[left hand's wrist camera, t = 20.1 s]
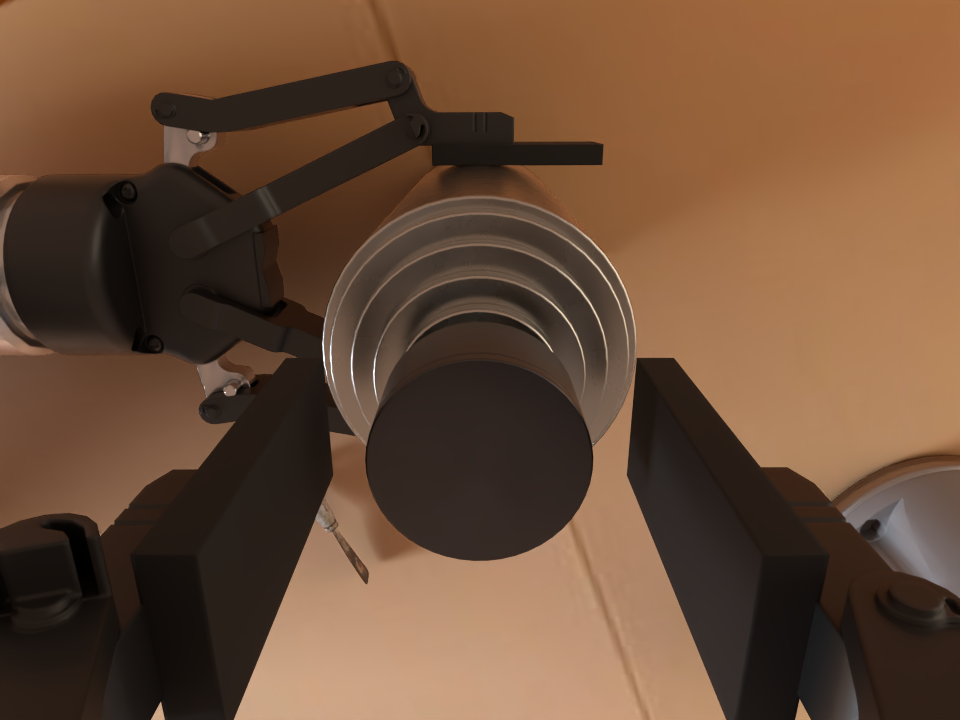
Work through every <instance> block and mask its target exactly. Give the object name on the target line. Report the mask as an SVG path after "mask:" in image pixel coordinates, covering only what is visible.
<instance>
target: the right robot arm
mask: <svg viewBox="0 0 960 720" xmlns="http://www.w3.org/2000/svg"><path fill="white" fill-rule="evenodd" d="M384 101H388V103H389V106H390V108H391V111H392V113H393V116H394V119H395V120H394V121H392V122H390V123H388V124H386V125H384V126H382V127H380V128H378V129H376V130H374V131H372V132H370V133H368V134H366V135H364V136H363V137H361V138H359V139H357V140H355V141H353V142H351V143H349V144H347V145H345V146H343V147H341V148H339V149H337V150H335V151H333V152H331V153H329V154H327V155H325V156H323V157H321V158H319V159H317V160H315V161H313V162H311V163H309V164H307V165H305V166H303V167H301V168H299V169H297V170H295V171H293V172H291V173H289V174H287V175H285V176H283V177H281V178H279V179H277V180H275V181H273V182H271V183H269V184H267V185H265V186H263V187H261V188H258V189H256V190H254V191H252V192H250V193H248V194H246V195H244V196H243V195H241V194H240V193H238V192H237V191H235V190H234V189H232V188H231V187H229V186H228V185H226V184H225V183H223V182H222V181H220V180H219V179H217V178H216V177H214V176H213V175H211V174H210V173H209V172H207V171H206V170H204V169H203V168H201V167H200V166H198V160H199V158H200V156H201V155H202V154H203V153H204V152H206V151H211V150H217V149H219V148H220V147H221V146H222V145H223V143H224V141H225V132H234V131H246V130H253V129H258V128H263V127H267V126H272V125H277V124H281V123H286V122H291V121H295V120H300V119H305V118H309V117H314V116H319V115H323V114H328V113H333V112H337V111H342V110H347V109H351V108H356V107H361V106H365V105H370V104H375V103H379V102H384ZM151 111H152V114H153V116H154V118H155V119H156V120H157V121H158V122H159V123H160V124H162V125H164V163H163V164H160V165H158V166H156V167H155V168H153V169H152V170H150V171H149V172H147V173H144V174H80V175H47V176H43V177H40V178H36V177H33V176H30V175H0V355H49V354H52V353H54V352H57V353H60V354H64V355H147V354H168V355H172V356H175V357H177V358H180V359H182V360H184V361H186V362H188V363H191V364H196V367H197V370H198V373H199V376H200V380H201V383H202V386H203V389H204V392H205V395H206V399H205V400H204V401H203V402H202V403H201V404H200V407H199V414H200V416H201V417H202V419H204V420H205V421H206V422H208V423H211V424H220V423H227V422H233V421H237V419H238V418H239V417H240V416H241V414H242V413H243V412H244V411H245V409H246V408H247V407H248V406H249V404H250V403H251V402H252V401H253V399H254V398H255V397H256V395H257V394H258V393H259V392H260V390H261V389H262V388H263V387H264V385H265V384H266V383H267V382H268V380H269V379H270V378H271V377H272V375H273V374H259V375H254V371H253V369H252V368H251V367H248V366H242V365H235V364H232V363H231V362H230V361H228V359H227V358H226V357H225V353H226V352H227V351H229V350H230V349H231V348H233V347H234V346H235V345H236V344H238V343H239V342H240V341H242V340H244V341H246V342H249V343H251V344H254V345H256V346H259V347H261V348H263V349H266V350H269V351H272V352H286V353H289V354H291V355H293V356H296V357H298V358H323V350H322V337H323V323H324V318H322V317H320V316H317V315H315V314H313V313H310V312H308V311H307V310H306V309H305V307H303V306H302V305H301V304H299V303H296V302H294V301H292V300H289V299H287V298H285V297H283V296H284V287H283V278H282V276H281V273H280V270H279V268H278V265H277V262H276V257H277V251H278V245H279V239H278V230H277V225H272V222H271V220H270V219H272V218H274V217H276V216H278V215H280V214H282V213H284V212H286V211H288V210H290V209H292V208H294V207H296V206H298V205H300V204H302V203H304V202H306V201H308V200H310V199H312V198H314V197H316V196H318V195H320V194H322V193H324V192H326V191H328V190H330V189H332V188H334V187H336V186H338V185H340V184H342V183H344V182H347V181H349V180H351V179H353V178H355V177H357V176H359V175H361V174H363V173H365V172H367V171H369V170H371V169H373V168H375V167H377V166H379V165H381V164H383V163H385V162H387V161H389V160H391V159H393V158H395V157H397V156H399V155H401V154H403V153H405V152H407V151H409V150H411V149H413V148H415V147H417V146H426V145H432V166H462V165H602V161H603V144H600V143H596V142H514V118H513V117H511V116H508V115H506V114H504V113H501V112H452V113H441V112H436V111H434V110H432V109H430V108H429V107H428V106H427V105H426V103H425V102H424V100H423V97H422V94H421V92H420V89H419V86H418V84H417V81H416V77H415V74H414V72H413V71H412V70H411V69H410V68H409V67H407V66H406V65H404V64H403V63H400V62H398V61H388V62H384V63H379V64H375V65H370V66H365V67H361V68H356V69H352V70H347V71H342V72H338V73H333V74H329V75H324V76H320V77H315V78H310V79H306V80H301V81H297V82H292V83H287V84H283V85H278V86H274V87H269V88H265V89H260V90H255V91H251V92H246V93H242V94H237V95H232V96H228V97H223V98H219V99H218V98H212V97H206V96H200V95H194V94H181V93H159V94H158V95H156V96H155V97H154V98H153V100H152V103H151ZM325 386H326V398H327V410H328V421H329V431H330V432H336V433H342V434H347V435H353V436H356V435H355V434H354V433H353V431H352V430H351V428H350V427H349V425H348V424H347V422H346V421H345V420H344V418H343V417H342V415H341V413H340V411H339V409H338V407H337V405H336V403H335V401H334V399H333V396H332V393H331V390H330V388H329V385H328V383H325Z"/></svg>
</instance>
